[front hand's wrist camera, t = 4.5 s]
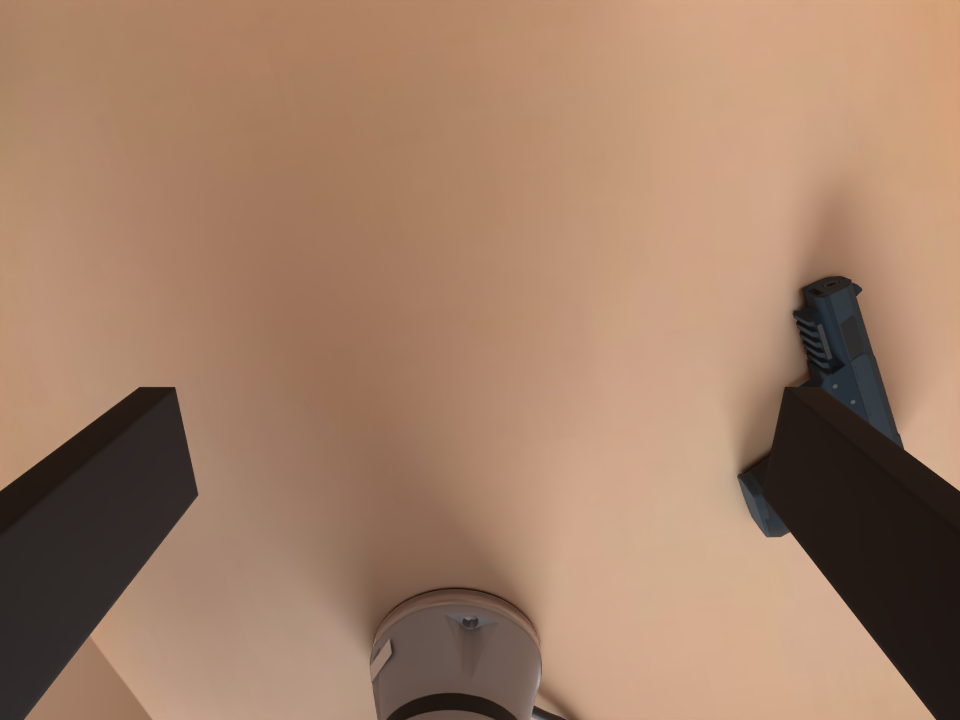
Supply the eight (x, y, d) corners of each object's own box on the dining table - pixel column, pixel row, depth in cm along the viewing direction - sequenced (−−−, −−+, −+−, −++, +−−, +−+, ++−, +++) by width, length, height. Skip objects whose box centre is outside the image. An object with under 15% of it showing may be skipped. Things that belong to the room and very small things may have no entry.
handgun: (677, 343, 42) (841, 267, 40) (753, 522, 47) (901, 463, 45) (692, 358, 39) (871, 277, 37) (771, 548, 44) (931, 486, 42)
